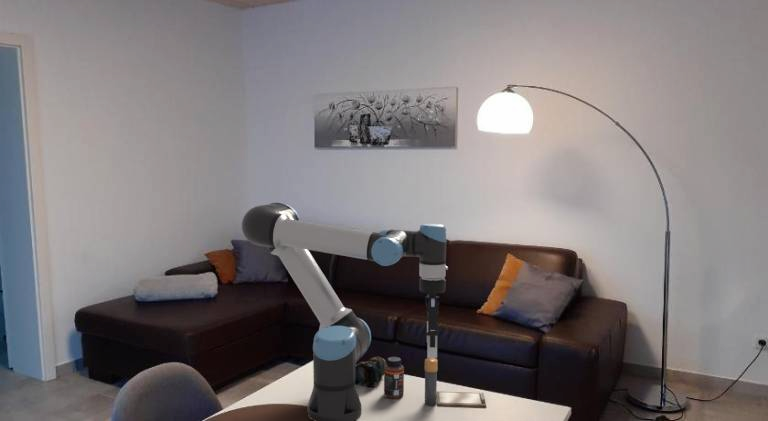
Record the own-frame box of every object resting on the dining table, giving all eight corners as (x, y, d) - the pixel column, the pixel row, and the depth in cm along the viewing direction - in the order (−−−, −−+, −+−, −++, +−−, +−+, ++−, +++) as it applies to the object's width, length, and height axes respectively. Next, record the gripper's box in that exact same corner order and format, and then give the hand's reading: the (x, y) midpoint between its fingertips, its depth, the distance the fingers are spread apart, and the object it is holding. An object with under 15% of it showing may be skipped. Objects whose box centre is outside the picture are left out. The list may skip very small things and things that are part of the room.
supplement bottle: (401, 400, 171) (402, 363, 170) (382, 398, 172) (382, 361, 171) (405, 392, 177) (405, 356, 176) (386, 390, 178) (386, 354, 177)
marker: (424, 405, 167) (424, 362, 166) (424, 400, 171) (424, 357, 170) (437, 406, 167) (437, 362, 166) (436, 401, 170) (437, 358, 169)
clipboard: (437, 405, 167) (437, 400, 167) (436, 393, 176) (436, 388, 176) (486, 407, 166) (486, 402, 166) (482, 394, 175) (482, 390, 175)
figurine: (345, 367, 182) (372, 348, 194) (353, 392, 182) (378, 372, 194) (367, 365, 177) (392, 346, 189) (375, 390, 177) (399, 370, 189)
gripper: (447, 287, 153) (446, 365, 155) (443, 269, 178) (443, 337, 179) (419, 286, 153) (418, 364, 155) (419, 269, 178) (418, 336, 180)
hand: (431, 349), depth 167 cm, fingers open, 13 cm apart
